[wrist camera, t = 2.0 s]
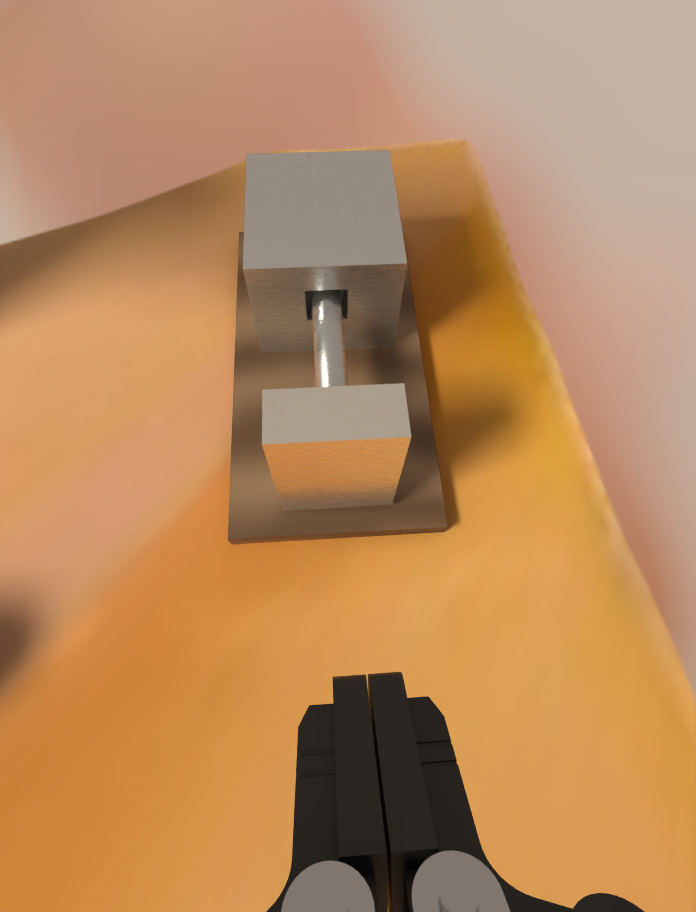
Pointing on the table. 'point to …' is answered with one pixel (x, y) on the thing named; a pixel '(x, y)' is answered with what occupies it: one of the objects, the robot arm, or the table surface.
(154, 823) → the table surface
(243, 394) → the base plate
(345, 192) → the bearing block
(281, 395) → the brushed metal slider block
